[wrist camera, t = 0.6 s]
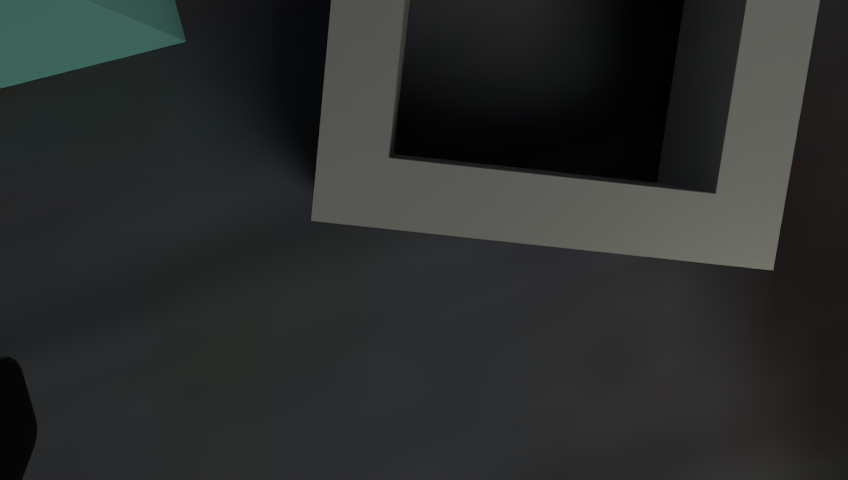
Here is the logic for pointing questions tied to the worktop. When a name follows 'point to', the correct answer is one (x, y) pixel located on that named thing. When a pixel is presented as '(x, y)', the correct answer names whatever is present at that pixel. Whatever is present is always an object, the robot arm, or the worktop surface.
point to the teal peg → (79, 34)
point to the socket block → (576, 193)
